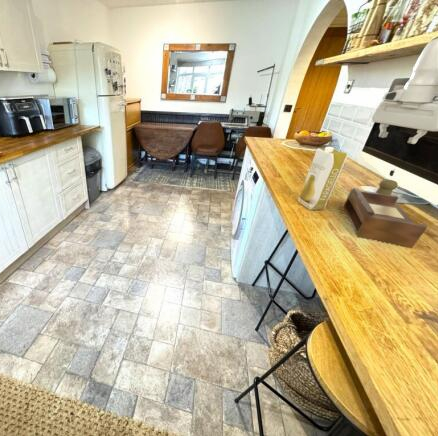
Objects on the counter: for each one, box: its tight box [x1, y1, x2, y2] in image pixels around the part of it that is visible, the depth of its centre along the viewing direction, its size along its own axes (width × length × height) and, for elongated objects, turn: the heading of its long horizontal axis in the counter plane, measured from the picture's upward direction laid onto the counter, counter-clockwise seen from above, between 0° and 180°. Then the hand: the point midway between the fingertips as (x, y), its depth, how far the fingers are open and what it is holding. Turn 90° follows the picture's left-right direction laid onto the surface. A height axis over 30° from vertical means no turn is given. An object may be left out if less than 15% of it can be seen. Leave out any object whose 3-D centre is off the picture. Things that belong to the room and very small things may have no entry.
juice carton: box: [297, 146, 349, 211], centre depth 93 cm, size 9×8×24 cm
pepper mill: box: [375, 178, 399, 195], centre depth 97 cm, size 6×6×11 cm
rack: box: [342, 187, 428, 249], centre depth 84 cm, size 14×24×9 cm, turn 154°
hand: (395, 140), depth 83 cm, fingers open, 8 cm apart
